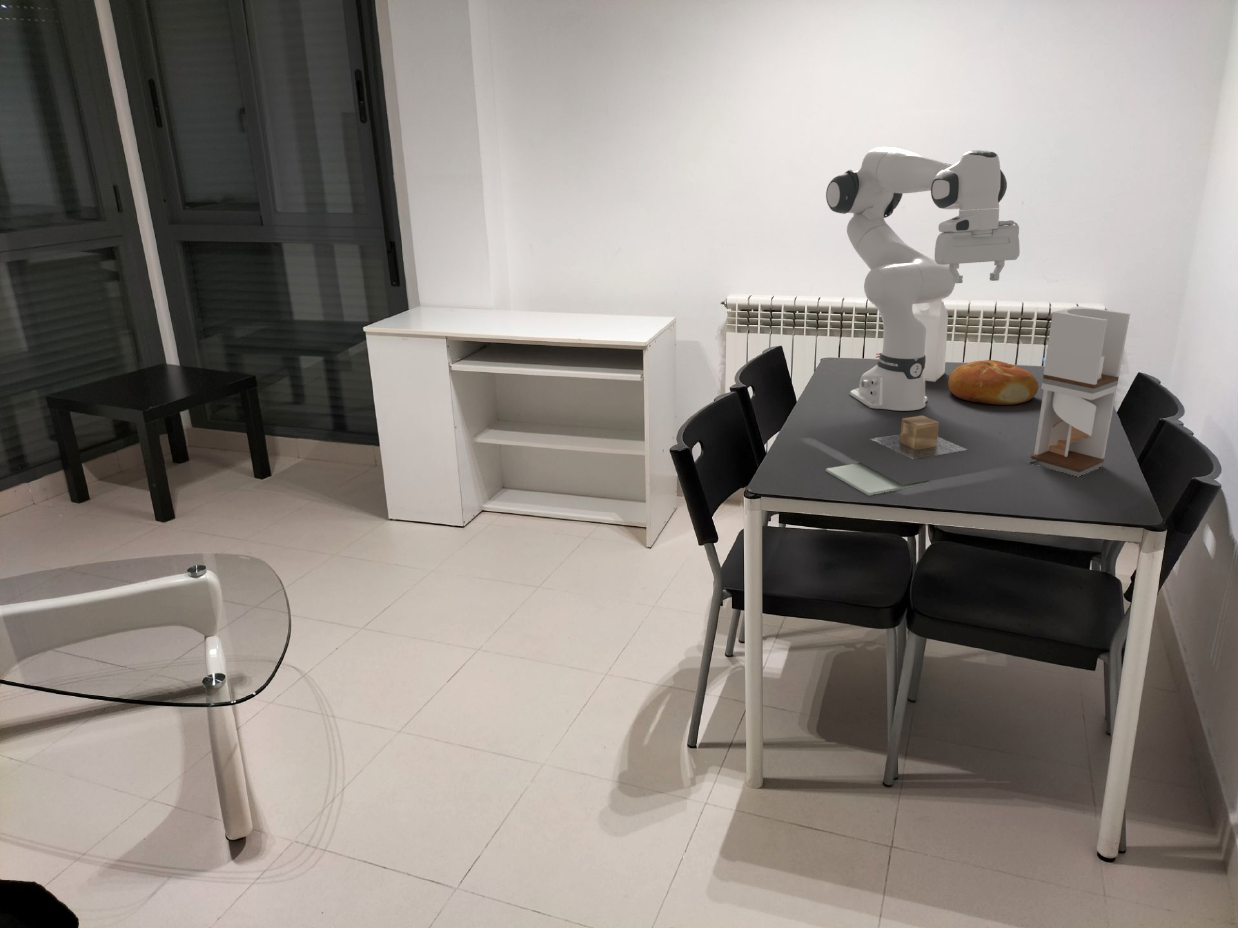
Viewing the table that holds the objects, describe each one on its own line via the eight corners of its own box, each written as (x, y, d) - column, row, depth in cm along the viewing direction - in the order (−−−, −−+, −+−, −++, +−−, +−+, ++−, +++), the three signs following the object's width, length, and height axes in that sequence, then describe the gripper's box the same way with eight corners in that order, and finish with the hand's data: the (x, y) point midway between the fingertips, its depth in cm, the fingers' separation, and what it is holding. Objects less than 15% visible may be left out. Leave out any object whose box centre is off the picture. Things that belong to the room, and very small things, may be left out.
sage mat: (825, 471, 209) (825, 468, 209) (883, 461, 214) (884, 458, 214) (868, 495, 195) (868, 492, 195) (929, 484, 200) (930, 481, 200)
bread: (1018, 414, 247) (1023, 378, 243) (934, 399, 261) (937, 365, 258) (1046, 395, 263) (1051, 361, 260) (965, 382, 277) (969, 350, 274)
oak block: (899, 442, 222) (902, 418, 220) (920, 438, 224) (922, 415, 222) (916, 449, 217) (918, 425, 215) (936, 446, 219) (939, 422, 217)
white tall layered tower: (1030, 463, 212) (1052, 312, 199) (1054, 453, 218) (1077, 306, 205) (1078, 477, 203) (1105, 320, 191) (1102, 466, 209) (1130, 313, 197)
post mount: (869, 444, 225) (871, 421, 223) (922, 436, 231) (925, 413, 229) (911, 465, 211) (914, 440, 209) (967, 455, 217) (970, 431, 215)
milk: (944, 373, 287) (953, 289, 278) (934, 381, 278) (944, 295, 269) (905, 368, 293) (913, 286, 284) (895, 376, 284) (903, 292, 275)
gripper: (1011, 220, 222) (1008, 278, 225) (932, 225, 219) (930, 284, 222) (1026, 219, 216) (1023, 279, 219) (945, 224, 213) (943, 285, 216)
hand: (976, 282), depth 220 cm, fingers open, 8 cm apart
